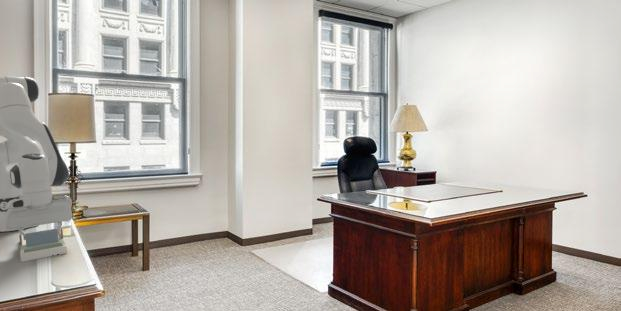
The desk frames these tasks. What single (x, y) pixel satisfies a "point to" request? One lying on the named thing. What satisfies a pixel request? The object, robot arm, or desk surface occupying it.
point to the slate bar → (41, 237)
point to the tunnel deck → (42, 248)
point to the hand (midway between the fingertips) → (41, 236)
